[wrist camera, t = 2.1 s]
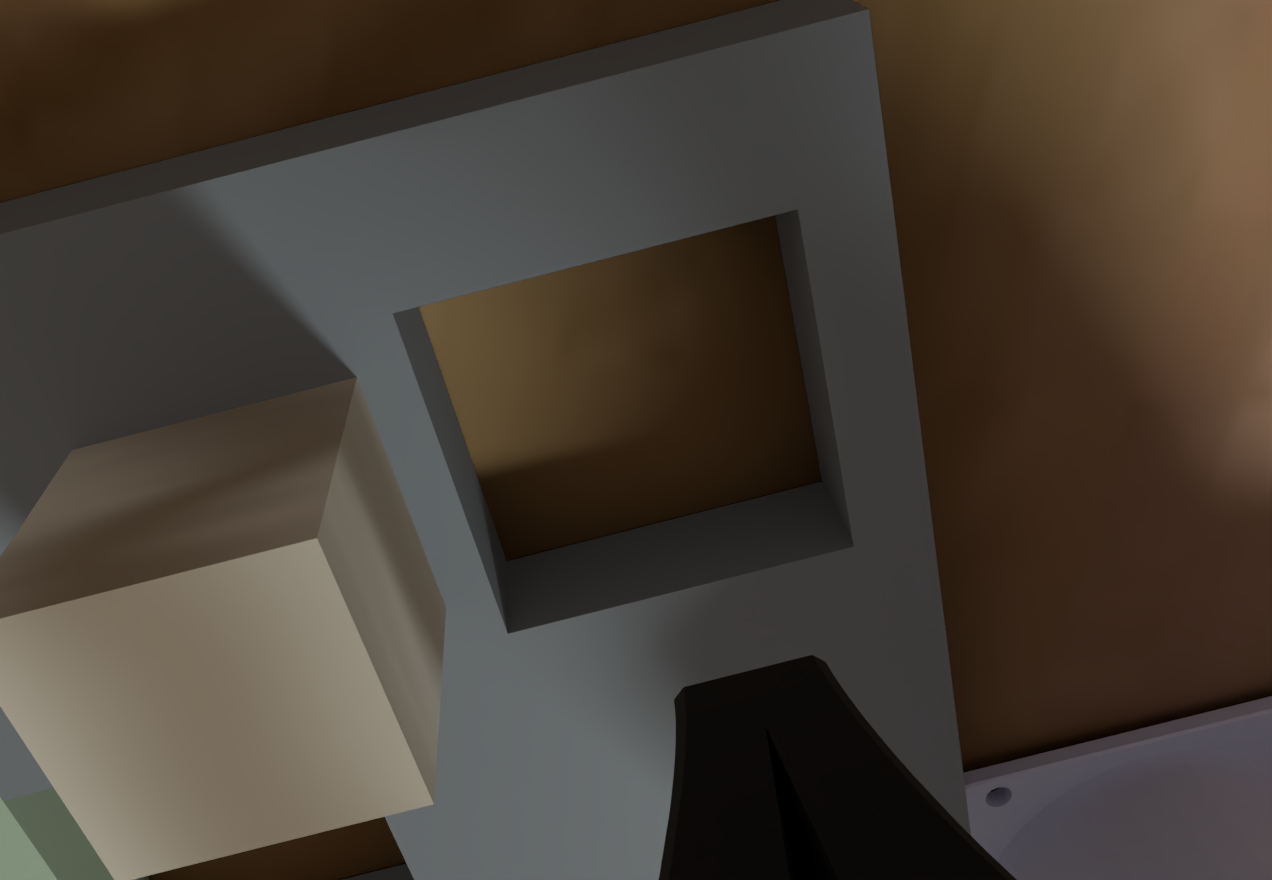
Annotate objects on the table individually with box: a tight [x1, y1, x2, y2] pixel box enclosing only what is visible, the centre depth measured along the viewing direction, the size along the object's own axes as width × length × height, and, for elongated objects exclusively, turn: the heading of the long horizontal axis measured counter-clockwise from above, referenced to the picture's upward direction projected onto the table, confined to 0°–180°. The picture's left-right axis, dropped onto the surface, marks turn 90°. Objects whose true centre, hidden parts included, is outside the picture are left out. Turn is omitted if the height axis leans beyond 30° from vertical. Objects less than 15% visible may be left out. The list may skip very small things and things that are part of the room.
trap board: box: [0, 0, 971, 880], centre depth 18 cm, size 20×15×4 cm
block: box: [0, 377, 446, 880], centre depth 15 cm, size 4×4×4 cm
